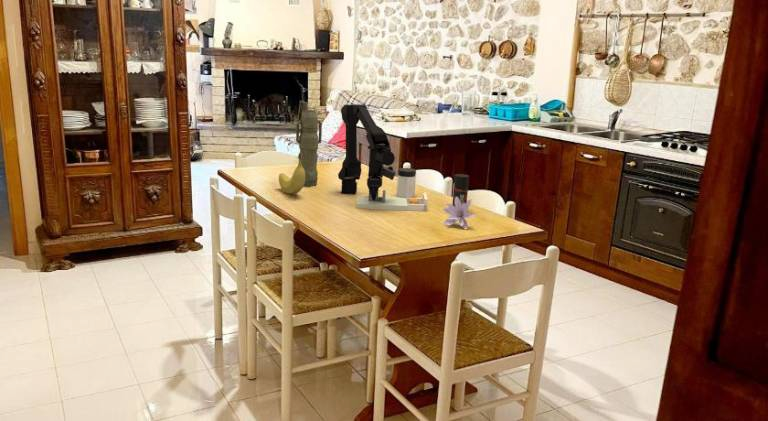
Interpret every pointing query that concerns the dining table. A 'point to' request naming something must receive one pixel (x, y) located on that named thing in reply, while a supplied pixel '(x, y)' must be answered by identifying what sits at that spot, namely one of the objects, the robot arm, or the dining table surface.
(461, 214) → the water lily
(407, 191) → the jar
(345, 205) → the dining table surface
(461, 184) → the deodorant
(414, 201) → the ball
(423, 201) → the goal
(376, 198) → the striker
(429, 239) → the dining table surface
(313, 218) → the dining table surface
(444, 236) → the dining table surface
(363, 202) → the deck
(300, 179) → the banana
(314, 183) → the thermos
